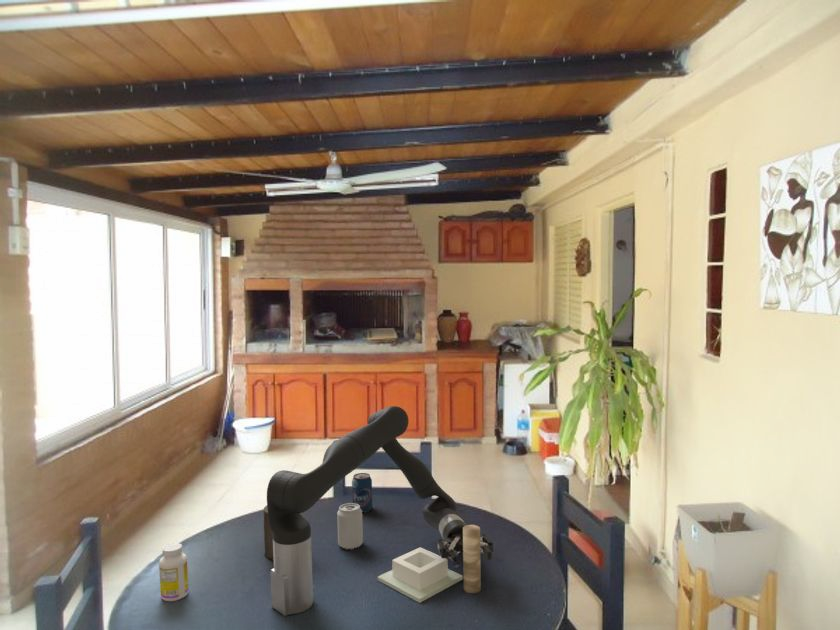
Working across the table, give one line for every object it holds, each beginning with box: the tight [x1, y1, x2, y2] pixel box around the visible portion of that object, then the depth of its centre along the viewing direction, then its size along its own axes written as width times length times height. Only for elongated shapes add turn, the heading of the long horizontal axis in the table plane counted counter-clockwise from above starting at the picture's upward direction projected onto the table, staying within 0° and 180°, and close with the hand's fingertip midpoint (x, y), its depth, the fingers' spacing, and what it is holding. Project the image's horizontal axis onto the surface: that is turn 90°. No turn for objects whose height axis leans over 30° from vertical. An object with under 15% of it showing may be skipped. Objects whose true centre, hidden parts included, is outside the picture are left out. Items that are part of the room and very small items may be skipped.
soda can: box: [351, 472, 373, 513], centre depth 209 cm, size 7×7×12 cm
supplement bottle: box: [158, 542, 190, 602], centre depth 154 cm, size 7×7×13 cm
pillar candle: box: [263, 505, 274, 561], centre depth 177 cm, size 10×10×15 cm
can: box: [336, 502, 364, 550], centre depth 181 cm, size 8×8×12 cm
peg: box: [462, 524, 482, 594], centre depth 155 cm, size 4×4×16 cm
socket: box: [377, 546, 464, 604], centre depth 160 cm, size 16×16×6 cm
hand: (473, 558), depth 153 cm, fingers open, 8 cm apart
